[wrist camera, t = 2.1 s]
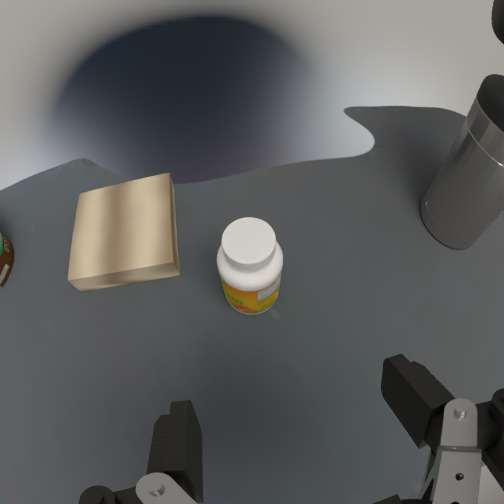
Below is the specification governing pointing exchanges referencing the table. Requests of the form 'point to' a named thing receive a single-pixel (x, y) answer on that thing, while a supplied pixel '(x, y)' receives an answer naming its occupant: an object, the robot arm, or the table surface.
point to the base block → (125, 234)
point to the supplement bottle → (250, 265)
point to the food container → (5, 259)
